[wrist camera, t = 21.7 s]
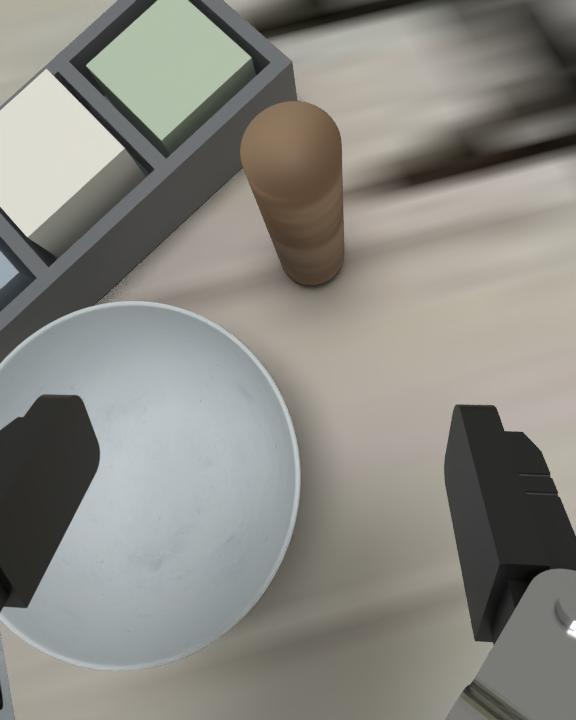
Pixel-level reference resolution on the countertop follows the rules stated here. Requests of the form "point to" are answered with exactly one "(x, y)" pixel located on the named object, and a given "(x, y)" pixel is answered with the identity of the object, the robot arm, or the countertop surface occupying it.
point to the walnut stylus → (298, 187)
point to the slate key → (12, 275)
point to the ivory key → (59, 165)
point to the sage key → (171, 72)
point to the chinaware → (158, 484)
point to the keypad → (163, 176)
